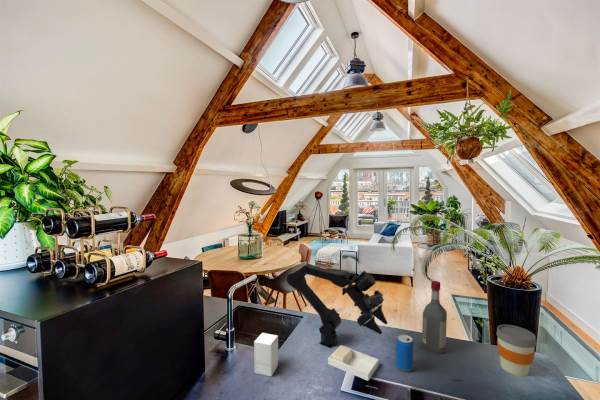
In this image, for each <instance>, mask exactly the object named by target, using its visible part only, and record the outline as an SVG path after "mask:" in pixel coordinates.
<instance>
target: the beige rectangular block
mask: <svg viewBox="0 0 600 400" xmlns="http://www.w3.org/2000/svg"><path fill="white" fill-rule="evenodd" d="M340 346H341V347H340ZM340 346H339V347H340V348H339V347H338V348H339V349H338V348H337V349H338V350H337V349H336V350H337V351H336V350H335V351H336V352H335V351H334V352H335V353H334V352H333V353H334V354H333V353H332V354H333V355H332V354H331V355H332V359H335V360H337V361H340V362H342V363H345V364H347V363H348V362H349V361H350V359H351V358H352V350H353V349H352V348H350V347H348V346H345V345H340Z"/></svg>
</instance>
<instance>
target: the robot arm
mask: <svg viewBox="0 0 600 400" xmlns="http://www.w3.org/2000/svg"><path fill="white" fill-rule="evenodd" d="M306 275H310V276H312V277H315V278H316V277H317V278H320V279H323V280H327V281H329V282H331V283H332V284H334V285H335V286H337V287H339V288H342V289H341V290H342V293H341V295H342V296H345V295H346V294H347V295H348V297H349V298H350V299H351V300H352V302H353V306H354V308H355V307H358V309H359V310H360V315H359V316H358V317H357V319H356V322H357V324H358V325H359V326H360V327H365V328H367V329H369V330H371V331H373V332H375V333H376V334H379V335H382V334H383V332H382V331H383V330H381V328H380V326H379V324H377V322H376V321H375V318H376V319H377V320H379V321H380V322H381V323H383V324H384V325H388V321H387V318H386V316H385V314H384V312H383V310H382V309H383V302H384V301H385V299H384V297H383V296H384V294H383V293H382V292H381V291H380V290H379V289H378V290H375V291H374V292H373V294H372V295H369V294H368V293H365V292H367V291H368V290H369V289H370V288H372V287H373V286H375V284H376V280H375V278H374V276H373V275H372V274H370V273H369V272H367V271H366V270H363V271H362V272H360V273H359V275H356V274H353V273H350V271H348V270H331V269H327V268H324V267H320V266H316V265H313V264H310V263H305V264H304V265H303V266H301V267H300V268H298V269H297V270H295V271H293V272H290V273H289V274H287V276H286V282H287V284H288V285H289V286H290V287H291V288H293V289H294V290H296V291H298V292H300V294H301V295H302V296H303V297H304V298H305V300H306V301H307V302H308V303H309V305H310V306H311V307H312V308H313V309H314V311H316V313H317V314H318V315H319V317H320V321H321V324H322V325H321V326H320V327H319V329H318V330H319V333H320V342H319V343H318V344H319V345H321V346H324V347H326V348H329V349H332V348H334V347H335V346H337V344H338V343H339V342H338V335H337V331H336V330H337V329H338V327H339V326H340V325H341V323H342V318H341V316H340V313H338V312H337V310H336V308H334V307H333V308H331V309H330V308H328V307H327V305H325V303H324V302H323V301H322V300H321V299H320V298H319V297H318V295H317V294H316V293H315V291H314V290H313V289H312V288H311V287H310V286H309V284H308V282H307V279H306V277H305V276H306Z"/></svg>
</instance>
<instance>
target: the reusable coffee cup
mask: <svg viewBox="0 0 600 400" xmlns="http://www.w3.org/2000/svg"><path fill="white" fill-rule="evenodd" d="M495 335H496V336H497V340H496V344H497V345H496V347H497V352H498V355H499V361H500V362H499V363H500V367H501V368H502V369H503V370H504V371H505V372H507V373H510V374H512V375H515V376H519V377H526V376H528V375H529V372H530V368H531V364H533V361H534V357H535V353H536V351H535V347H536V346H537V339H536V335H535V334H534V333H533V332H531V331H530V330H528V329H527V328H523V327H521V326H517V325H512V324H500V325H498V326H497V328H496V334H495Z"/></svg>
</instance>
